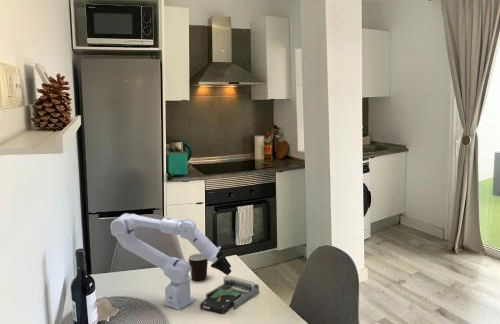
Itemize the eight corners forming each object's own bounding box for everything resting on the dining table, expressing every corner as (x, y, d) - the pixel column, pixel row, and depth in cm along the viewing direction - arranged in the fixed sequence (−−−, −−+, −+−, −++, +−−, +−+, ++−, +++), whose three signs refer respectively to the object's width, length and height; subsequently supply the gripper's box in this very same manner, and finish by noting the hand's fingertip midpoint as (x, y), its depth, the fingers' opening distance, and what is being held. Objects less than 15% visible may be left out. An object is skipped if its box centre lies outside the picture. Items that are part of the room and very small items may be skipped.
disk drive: (223, 316, 150) (242, 298, 163) (223, 309, 149) (242, 292, 162) (199, 310, 154) (219, 294, 167) (199, 303, 154) (219, 287, 167)
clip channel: (234, 308, 154) (234, 295, 153) (206, 299, 161) (205, 287, 161) (258, 292, 167) (258, 280, 166) (231, 284, 175) (231, 273, 174)
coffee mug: (207, 282, 178) (206, 260, 177) (187, 282, 178) (186, 260, 177) (210, 272, 189) (209, 251, 188) (192, 272, 190) (191, 251, 188)
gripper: (211, 241, 149) (237, 267, 150) (212, 235, 164) (236, 259, 164) (197, 255, 149) (223, 281, 149) (199, 247, 163) (223, 271, 164)
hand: (229, 270), depth 157 cm, fingers open, 7 cm apart
